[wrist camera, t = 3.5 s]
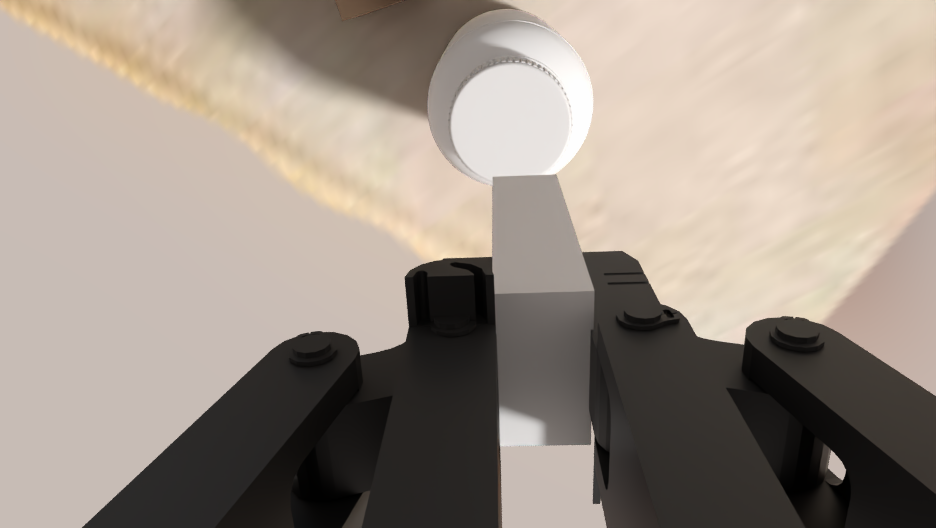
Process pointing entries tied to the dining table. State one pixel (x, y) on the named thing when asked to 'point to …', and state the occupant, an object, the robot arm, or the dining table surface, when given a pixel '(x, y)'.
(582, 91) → the pill bottle
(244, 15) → the dining table surface
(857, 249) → the dining table surface
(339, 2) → the walnut cube
